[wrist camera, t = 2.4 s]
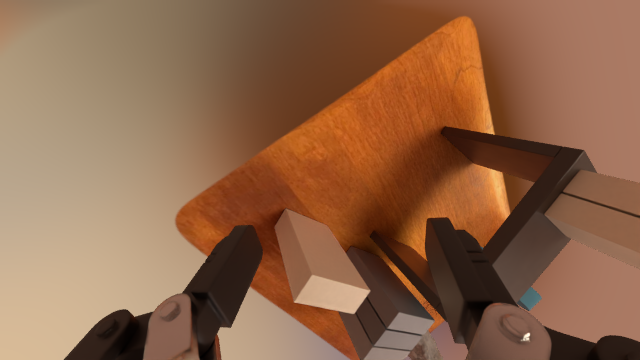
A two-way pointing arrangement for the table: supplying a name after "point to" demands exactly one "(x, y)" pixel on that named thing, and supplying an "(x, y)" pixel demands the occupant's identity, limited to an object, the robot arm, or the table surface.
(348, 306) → the beige rectangular block
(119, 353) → the robot arm
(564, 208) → the white books
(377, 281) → the grey books
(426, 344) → the stone
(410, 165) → the table surface
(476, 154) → the shelf
